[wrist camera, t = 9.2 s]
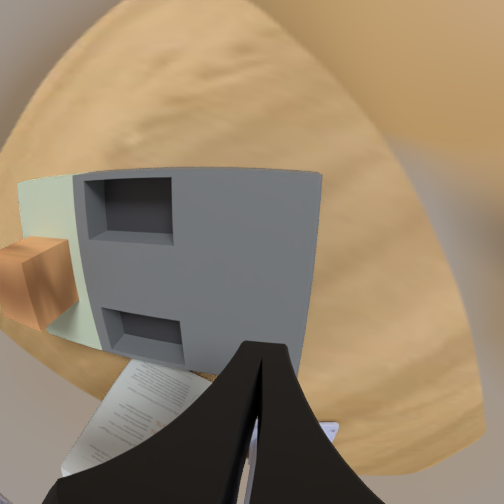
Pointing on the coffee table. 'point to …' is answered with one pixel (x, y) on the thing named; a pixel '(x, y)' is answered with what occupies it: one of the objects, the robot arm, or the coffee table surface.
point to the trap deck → (182, 258)
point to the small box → (133, 412)
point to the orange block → (37, 281)
